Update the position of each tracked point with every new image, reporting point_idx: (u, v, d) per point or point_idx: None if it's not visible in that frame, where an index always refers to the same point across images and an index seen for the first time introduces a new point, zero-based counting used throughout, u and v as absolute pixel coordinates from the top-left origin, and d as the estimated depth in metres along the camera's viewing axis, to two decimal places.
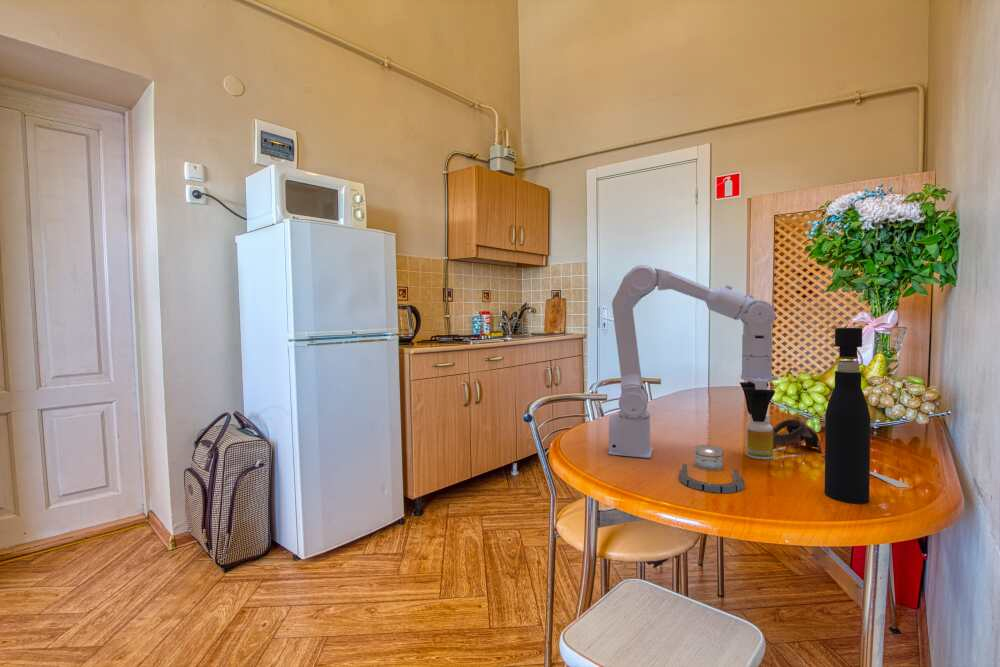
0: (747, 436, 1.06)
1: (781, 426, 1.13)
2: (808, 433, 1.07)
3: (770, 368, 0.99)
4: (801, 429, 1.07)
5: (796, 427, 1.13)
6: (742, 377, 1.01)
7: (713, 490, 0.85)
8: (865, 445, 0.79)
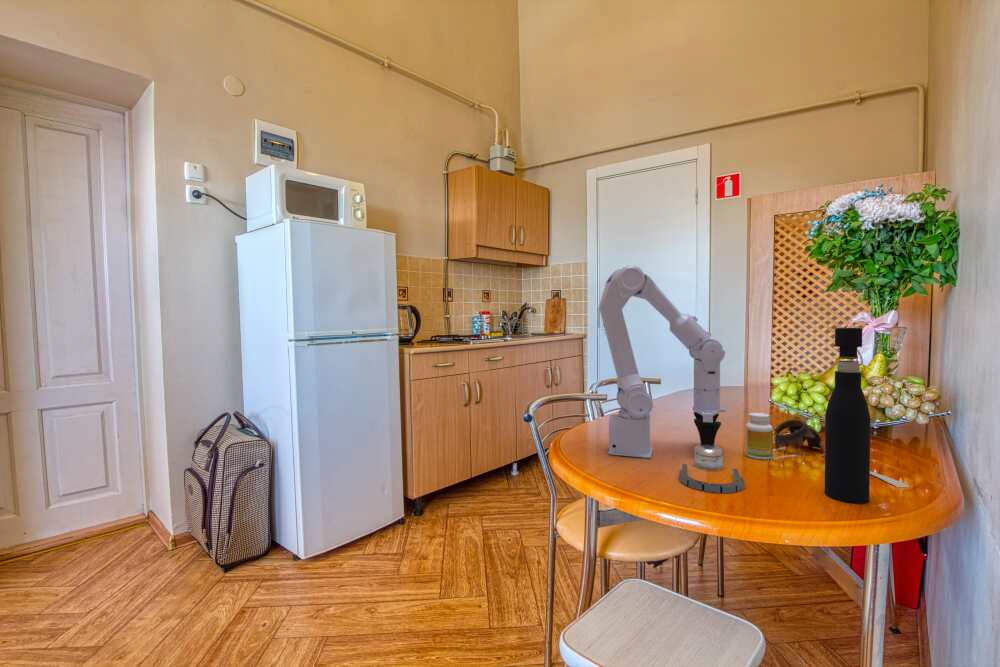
0: (747, 436, 1.06)
1: (783, 426, 1.13)
2: (810, 433, 1.06)
3: (718, 401, 1.07)
4: (803, 429, 1.07)
5: (798, 427, 1.13)
6: (693, 409, 1.10)
7: (713, 490, 0.85)
8: (865, 445, 0.79)
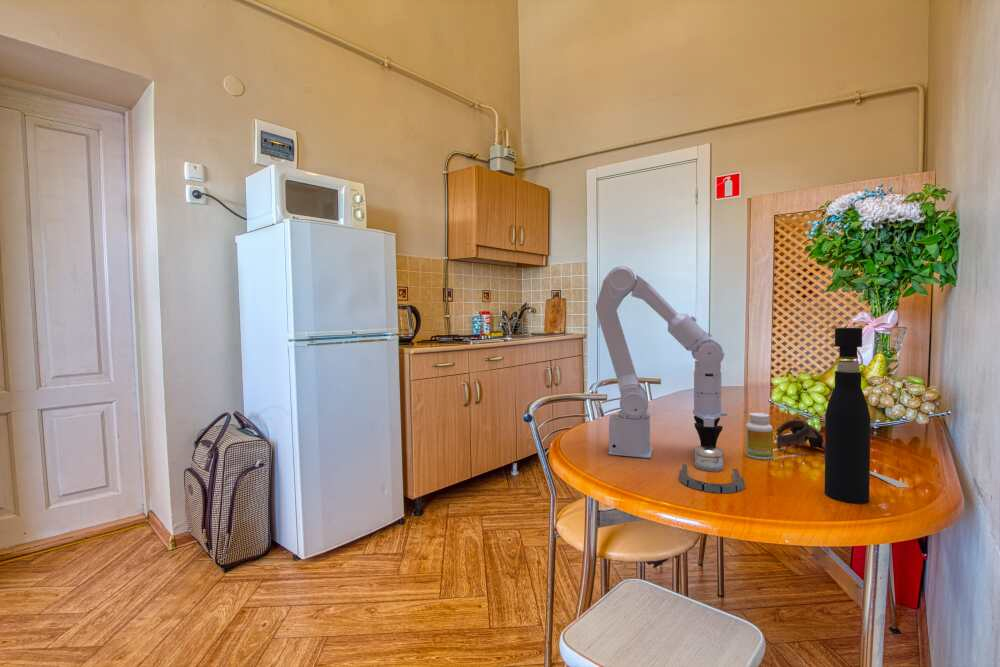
0: (747, 436, 1.06)
1: (785, 426, 1.13)
2: (813, 434, 1.06)
3: (719, 404, 1.03)
4: (806, 430, 1.06)
5: (800, 428, 1.13)
6: (694, 412, 1.06)
7: (713, 490, 0.85)
8: (865, 445, 0.79)
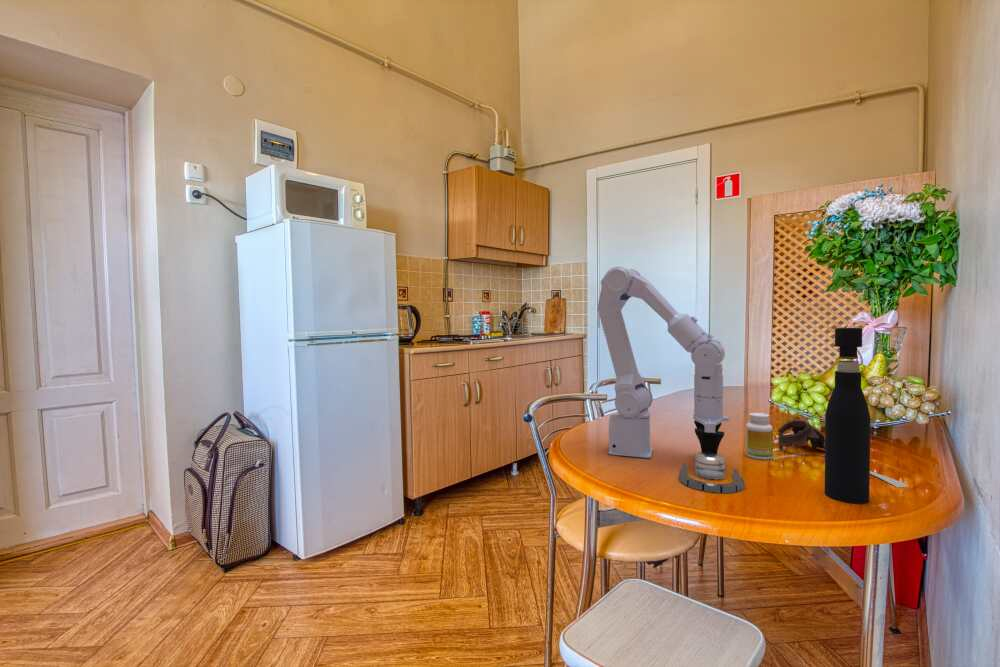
0: (747, 436, 1.06)
1: (786, 426, 1.12)
2: (815, 434, 1.06)
3: (721, 409, 0.99)
4: (808, 430, 1.06)
5: (802, 428, 1.12)
6: (694, 417, 1.01)
7: (713, 490, 0.85)
8: (865, 445, 0.79)
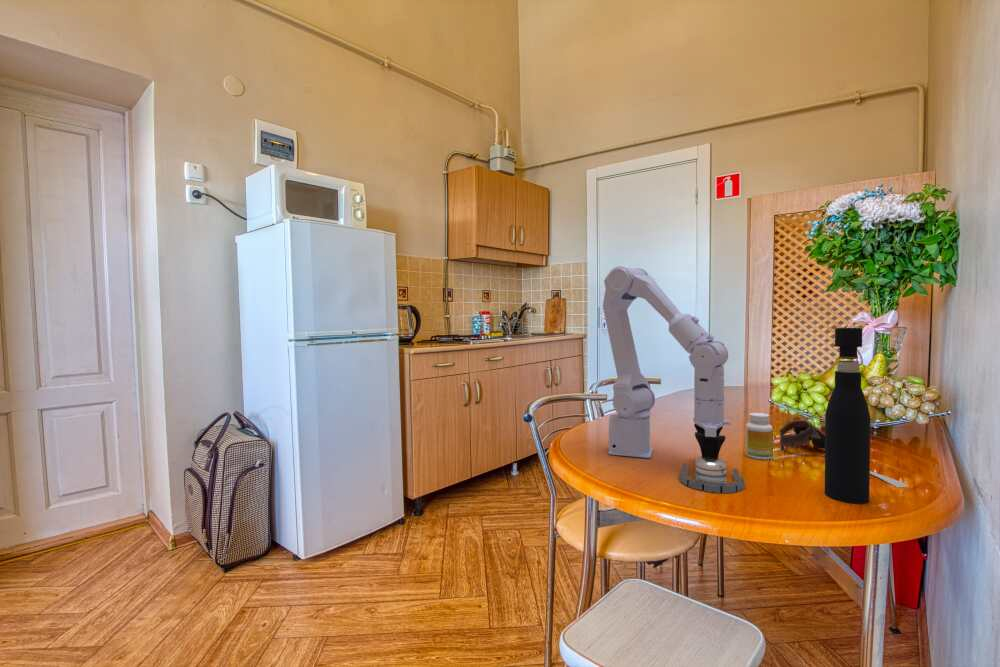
0: (747, 436, 1.06)
1: (788, 427, 1.12)
2: (817, 434, 1.06)
3: (722, 412, 0.95)
4: (809, 430, 1.06)
5: (803, 428, 1.12)
6: (694, 421, 0.98)
7: (713, 490, 0.85)
8: (865, 445, 0.79)
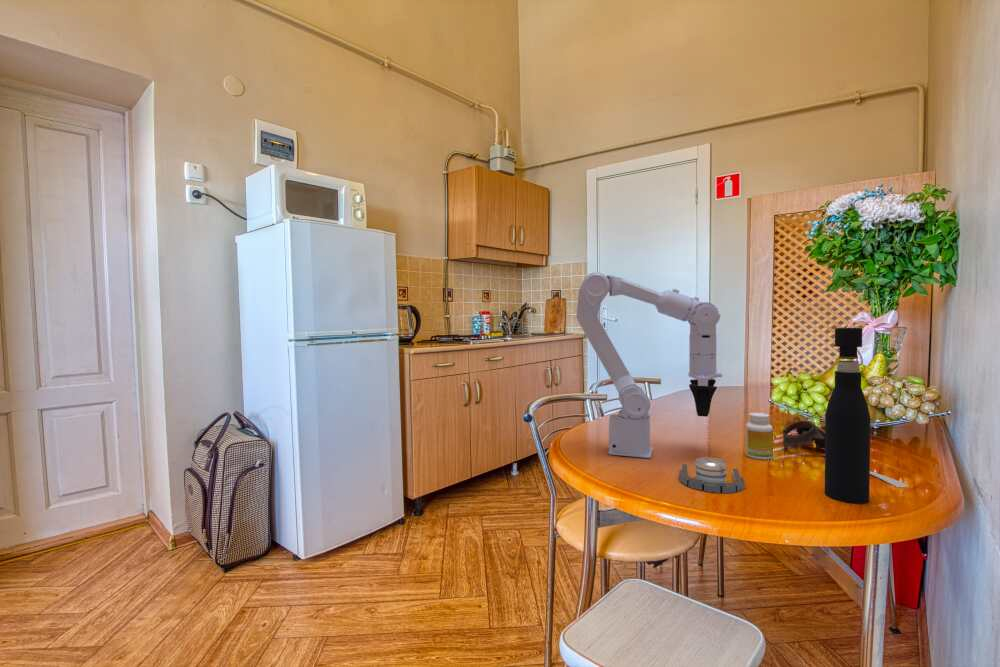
0: (747, 436, 1.06)
1: (791, 427, 1.12)
2: (820, 435, 1.05)
3: (714, 366, 1.05)
4: (813, 431, 1.05)
5: (806, 428, 1.12)
6: (689, 374, 1.07)
7: (713, 490, 0.85)
8: (865, 445, 0.79)
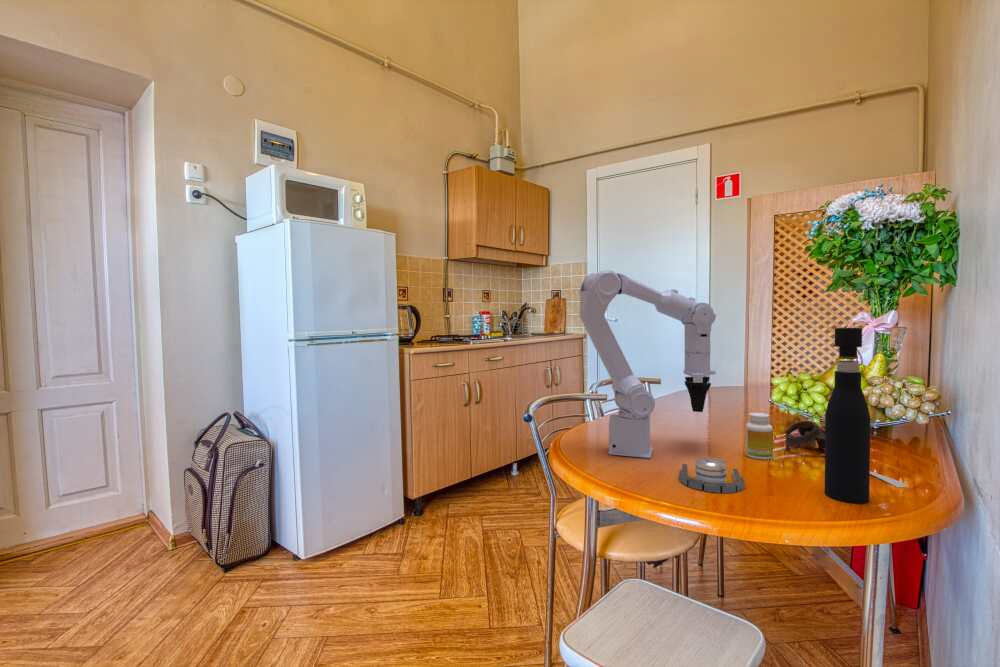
0: (747, 436, 1.06)
1: (793, 427, 1.11)
2: (823, 435, 1.05)
3: (708, 363, 1.10)
4: (816, 431, 1.05)
5: (808, 429, 1.12)
6: (684, 372, 1.12)
7: (713, 490, 0.85)
8: (865, 445, 0.79)
